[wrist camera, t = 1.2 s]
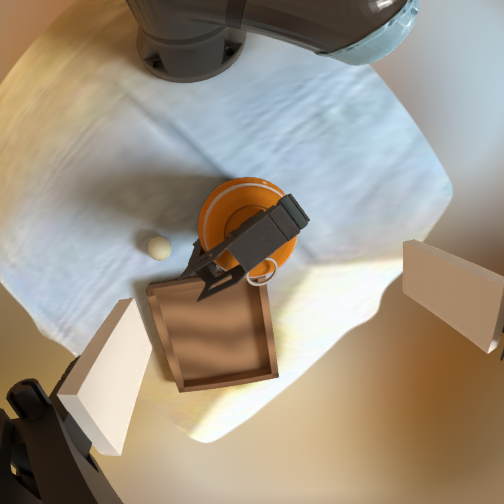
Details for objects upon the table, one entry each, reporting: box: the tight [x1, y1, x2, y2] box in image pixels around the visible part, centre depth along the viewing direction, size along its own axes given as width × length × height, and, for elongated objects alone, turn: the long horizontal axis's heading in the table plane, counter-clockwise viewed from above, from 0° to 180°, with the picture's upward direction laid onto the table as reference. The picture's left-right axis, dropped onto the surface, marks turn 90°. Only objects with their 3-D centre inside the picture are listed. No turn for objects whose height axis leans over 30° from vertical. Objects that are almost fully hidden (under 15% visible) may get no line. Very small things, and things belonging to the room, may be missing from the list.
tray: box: [146, 271, 279, 393], centre depth 40 cm, size 18×16×3 cm
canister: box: [177, 177, 310, 302], centre depth 28 cm, size 9×11×20 cm
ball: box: [148, 236, 172, 261], centre depth 36 cm, size 3×3×3 cm
